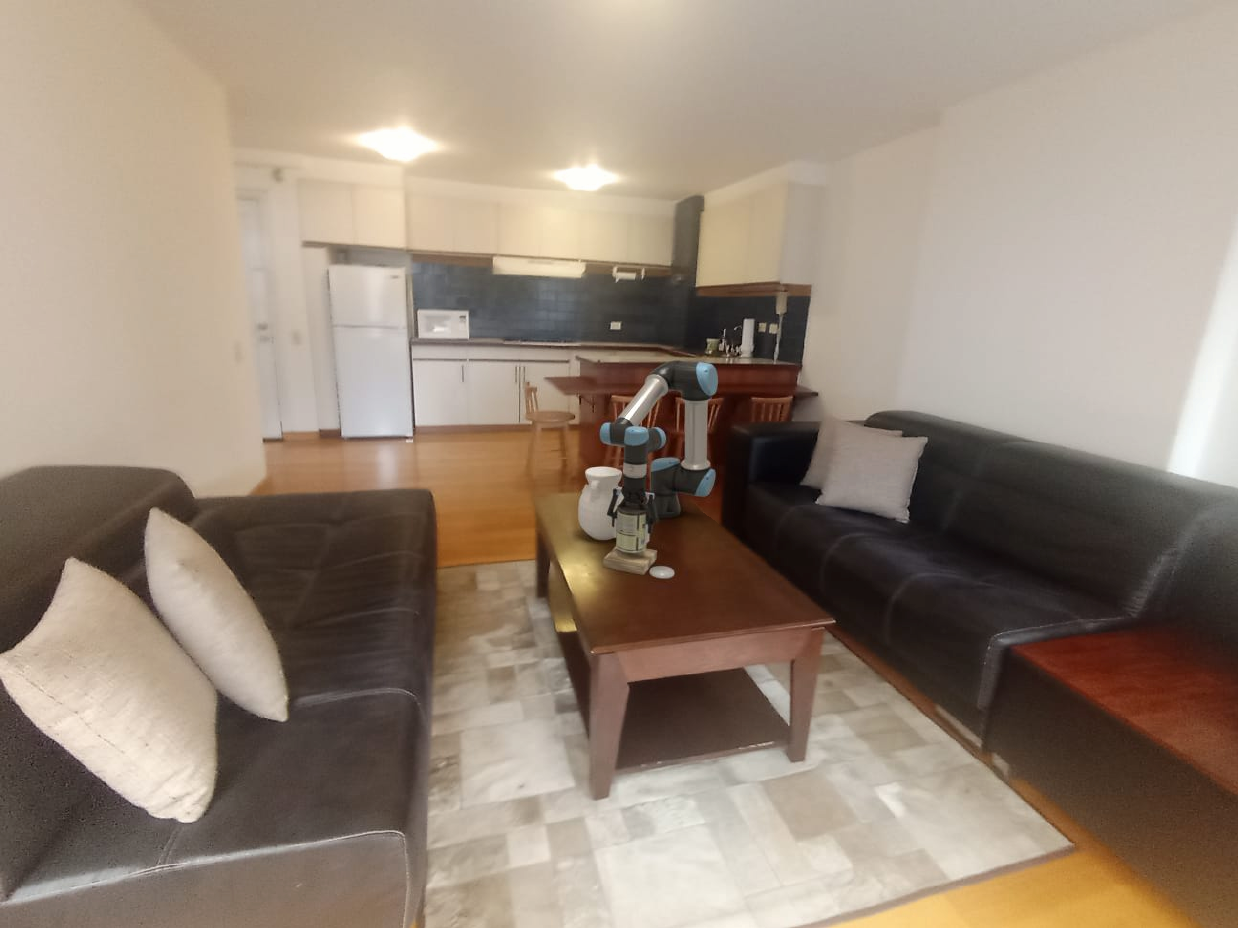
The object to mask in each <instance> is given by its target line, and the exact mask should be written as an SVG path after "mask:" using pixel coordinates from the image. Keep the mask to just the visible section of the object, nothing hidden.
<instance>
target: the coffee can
mask: <svg viewBox="0 0 1238 928" xmlns="http://www.w3.org/2000/svg"><path fill="white" fill-rule="evenodd" d="M619 505H620V504H619ZM619 505H618V506H617V509H618V512H617V538H616V541H615V542H616V544H615V547H617V549H619V550H620V551H623V552H628V553H638V552H642V551H644V550H645V549H647V544H646V543H645V525H646V524H647V521H646V519H645V518H646V512H648V510H649V507H648V506H647V505H646V506H647V509H646V510H641V508H640V507H639V506H638V504H635V503H629V502H627V503H626V504H625V505H624V506H623V507H620V506H619Z"/></svg>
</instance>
